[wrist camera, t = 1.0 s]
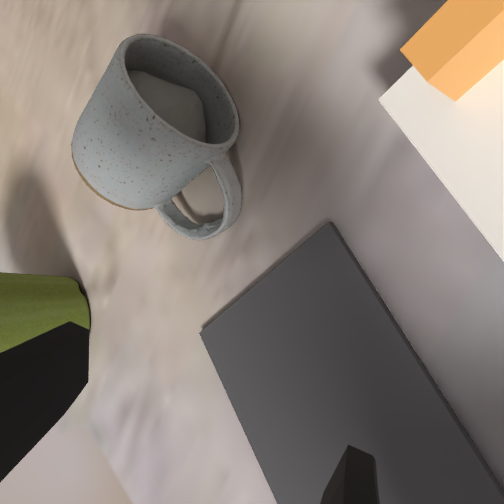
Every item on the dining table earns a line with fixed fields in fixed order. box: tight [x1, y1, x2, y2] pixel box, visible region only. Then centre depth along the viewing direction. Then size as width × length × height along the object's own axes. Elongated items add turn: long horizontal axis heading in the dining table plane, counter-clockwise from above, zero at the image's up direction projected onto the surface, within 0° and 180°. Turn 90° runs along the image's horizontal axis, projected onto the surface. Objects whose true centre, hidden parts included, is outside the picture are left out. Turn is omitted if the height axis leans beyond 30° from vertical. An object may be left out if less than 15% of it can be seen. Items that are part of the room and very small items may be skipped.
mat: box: [199, 222, 504, 504], centre depth 23 cm, size 17×12×1 cm
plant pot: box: [0, 272, 90, 353], centre depth 37 cm, size 12×12×11 cm
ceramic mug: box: [71, 34, 242, 240], centre depth 27 cm, size 11×8×8 cm
